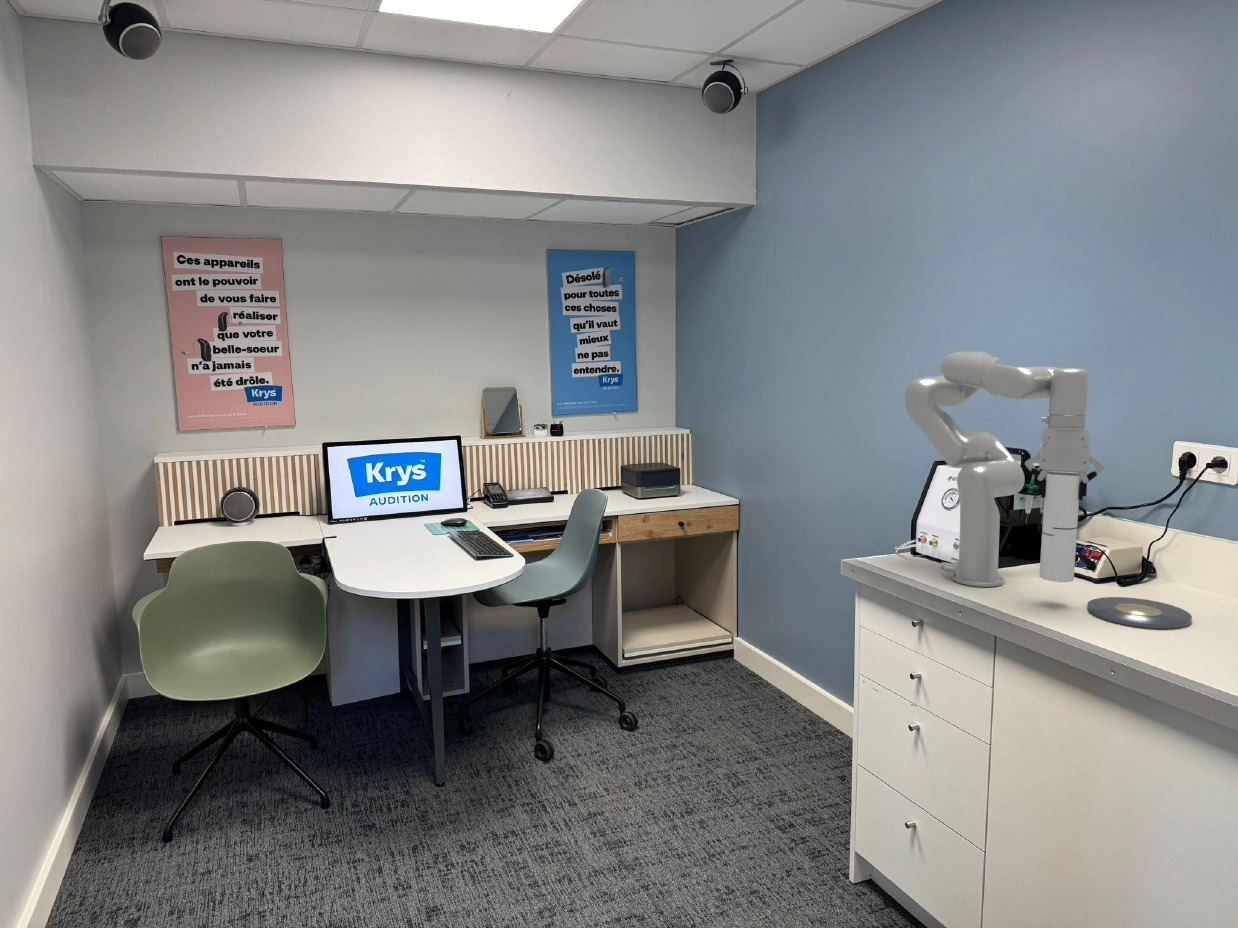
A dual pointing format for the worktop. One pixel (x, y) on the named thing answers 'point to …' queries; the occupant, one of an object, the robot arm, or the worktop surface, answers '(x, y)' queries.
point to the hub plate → (1139, 613)
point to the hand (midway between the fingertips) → (1061, 497)
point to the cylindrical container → (1059, 526)
